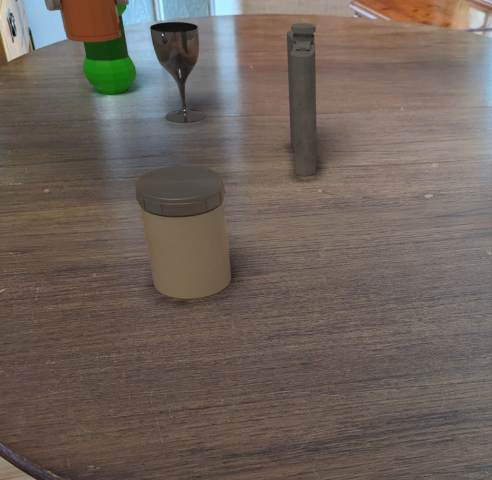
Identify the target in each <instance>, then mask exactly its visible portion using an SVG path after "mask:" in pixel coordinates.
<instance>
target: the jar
mask: <svg viewBox="0 0 492 480" xmlns="http://www.w3.org/2000/svg"><path fill="white" fill-rule="evenodd" d="M225 207H226V206H225V199H224V200H223V201H222V203H221V204H220V205H218V206H217V207H215V208H213V209H211V210H209V211H206V212H203V213H199V214H193V215H187V216H166V215H159V214H155V213H151V212H148V211H146V210H144V209H143V208H142V207H141V206H140V205H139V209H140V215H141V221H142V226H143V232H144V238H145V245H146V248H147V254H148V260H149V265H150V271H151V277H152V284H153V287H154V288H155V290H156V291H157V292H159V293H160V294H162V295H164V296H165V297H169V298H173V299H181V300H194V299H202V298H207V297H210V296H212V295H215V294H218V293H220V292H222V291H223V290H225V289H226V288H227V287H229V285H230V283H231V281H232V269H231V268H232V267H231V257H230V248H229V238H228V227H227V217H226V210H225V209H226V208H225Z"/></svg>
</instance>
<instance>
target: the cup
mask: <svg viewBox="0 0 492 480" xmlns="http://www.w3.org/2000/svg"><path fill="white" fill-rule="evenodd" d="M60 2H61V4H62V7H63V9H62V10H59V12H60V17H61V21H62V26H63V30H64V32H65V37H66V39H68V40H69V41H74V42H79V43H83V42H101V41H109V40H113V39H116V38H119V37H120V36H121V31H120V23H119V17H118V11H117V6H116V0H61V1H60Z"/></svg>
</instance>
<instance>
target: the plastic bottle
mask: <svg viewBox="0 0 492 480" xmlns="http://www.w3.org/2000/svg"><path fill="white" fill-rule="evenodd" d="M116 6H117V11H118V17H119V23H120V31H121V36H120V37H119V38H116V39H113V40H109V41H101V42H82V44H83V49H84V53H85V56H84V58H83V63H82V69H83V74H84V76H85V78H86V80H87V82H88V83H89V84H90V85H91V86H92V87H93V88H94V89H96V90H97V91H99V92H100V93H102V94H105V95H117V94H123V93H125V92H127V91H128V88H130V87H131V86H132V85H133V83H134V82H135V80H136V77H137V69H136V66H135V64H134V62H133V60H132V58H131V57H130V55H129V51H128V44H127V37H126V32H125V26H124V20H123V14H124V12H125V11H126V10H127V5H116Z"/></svg>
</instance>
